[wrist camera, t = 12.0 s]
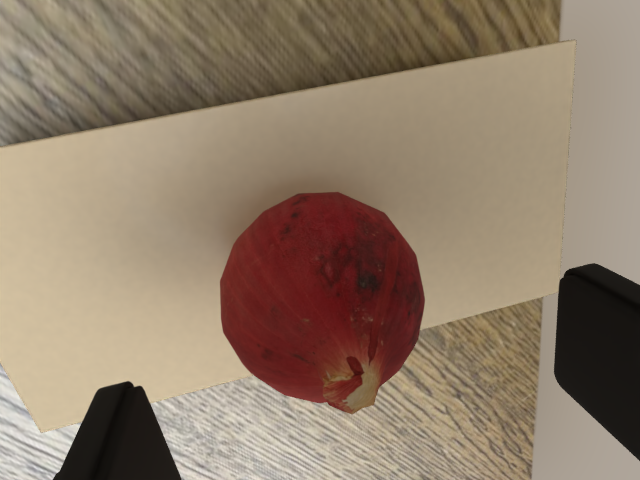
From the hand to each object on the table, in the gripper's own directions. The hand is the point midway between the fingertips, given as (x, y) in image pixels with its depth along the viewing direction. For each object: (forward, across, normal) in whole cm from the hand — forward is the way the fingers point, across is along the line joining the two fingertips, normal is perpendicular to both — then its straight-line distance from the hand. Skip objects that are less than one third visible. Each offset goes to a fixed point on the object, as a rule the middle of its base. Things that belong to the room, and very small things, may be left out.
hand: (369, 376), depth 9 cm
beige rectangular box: (+14, +1, -1) cm, 14 cm away
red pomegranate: (+7, 0, 0) cm, 8 cm away
